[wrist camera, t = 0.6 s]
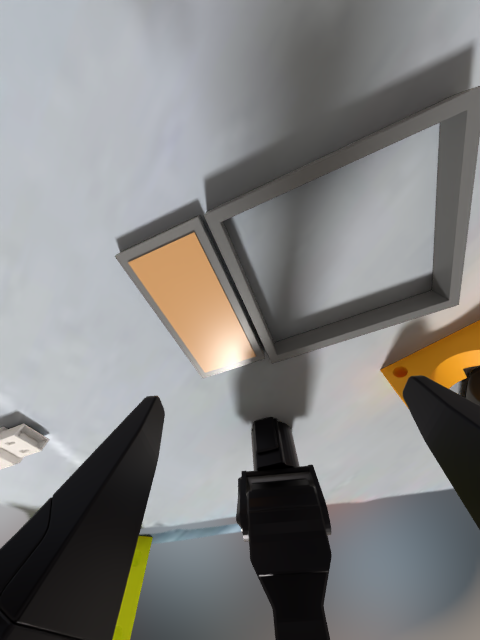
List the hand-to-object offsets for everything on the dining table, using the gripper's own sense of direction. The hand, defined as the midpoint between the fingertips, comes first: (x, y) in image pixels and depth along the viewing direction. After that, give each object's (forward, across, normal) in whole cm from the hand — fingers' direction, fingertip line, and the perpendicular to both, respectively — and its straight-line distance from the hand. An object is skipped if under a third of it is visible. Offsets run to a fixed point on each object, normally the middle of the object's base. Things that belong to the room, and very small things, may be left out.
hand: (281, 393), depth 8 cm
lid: (+13, +5, +3) cm, 15 cm away
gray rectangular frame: (+13, -7, 0) cm, 15 cm away
